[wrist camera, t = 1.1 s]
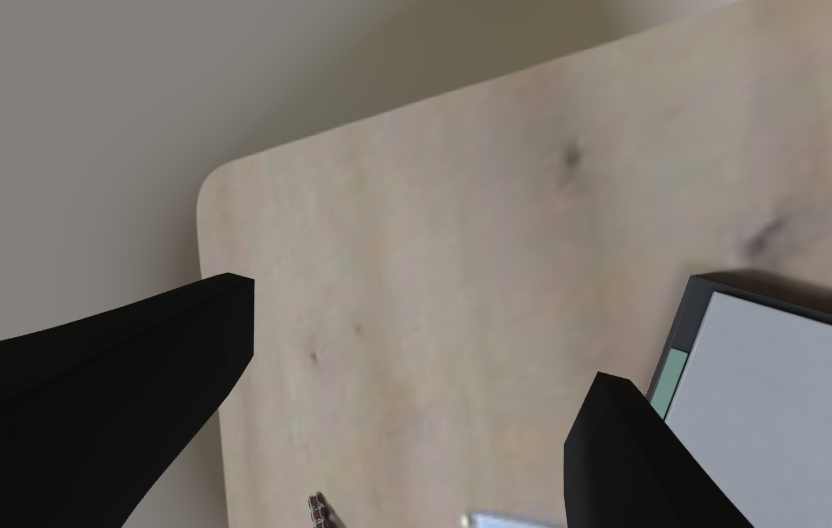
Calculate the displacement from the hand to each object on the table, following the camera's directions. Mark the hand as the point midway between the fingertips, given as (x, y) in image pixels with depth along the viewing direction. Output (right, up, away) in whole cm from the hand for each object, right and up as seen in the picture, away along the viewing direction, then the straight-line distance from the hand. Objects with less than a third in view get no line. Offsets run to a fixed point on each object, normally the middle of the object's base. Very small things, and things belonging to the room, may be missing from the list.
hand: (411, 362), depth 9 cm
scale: (+18, -7, +15) cm, 25 cm away
